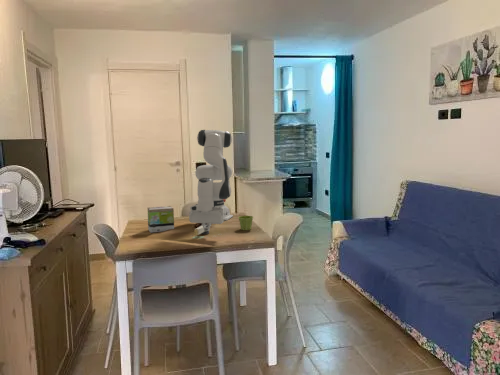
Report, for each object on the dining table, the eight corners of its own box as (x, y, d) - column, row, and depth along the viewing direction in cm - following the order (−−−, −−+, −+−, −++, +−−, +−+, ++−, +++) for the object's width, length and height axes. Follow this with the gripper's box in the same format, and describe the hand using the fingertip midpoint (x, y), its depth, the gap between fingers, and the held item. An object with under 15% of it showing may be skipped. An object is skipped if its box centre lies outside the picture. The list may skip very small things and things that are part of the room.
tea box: (150, 233, 247) (149, 209, 245) (148, 230, 256) (146, 207, 254) (174, 230, 252) (173, 207, 251) (171, 227, 262) (170, 205, 260)
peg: (203, 232, 241) (202, 224, 240) (210, 232, 239) (210, 224, 238) (191, 238, 226) (191, 229, 226) (199, 238, 225) (199, 230, 224)
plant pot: (236, 229, 250) (236, 216, 249) (251, 228, 253) (250, 215, 252) (240, 233, 242) (240, 219, 241) (255, 231, 244) (255, 217, 243)
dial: (199, 229, 254) (199, 227, 254) (233, 232, 243) (233, 230, 243) (175, 238, 232) (175, 236, 232) (211, 242, 221) (211, 240, 221)
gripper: (225, 206, 226) (225, 230, 228) (192, 205, 233) (193, 228, 234) (220, 208, 220) (221, 233, 222) (187, 207, 227) (188, 231, 228)
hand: (206, 230), depth 228 cm, fingers closed
